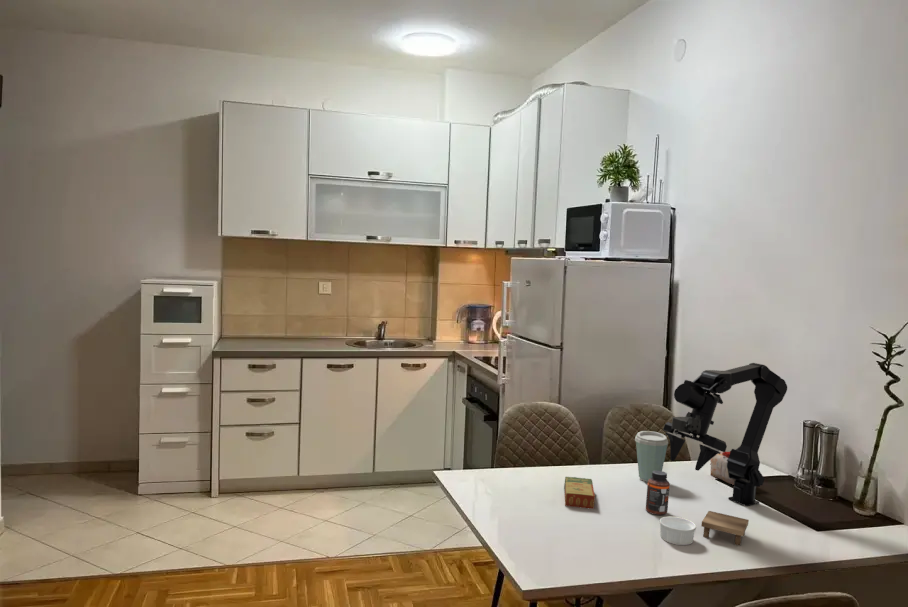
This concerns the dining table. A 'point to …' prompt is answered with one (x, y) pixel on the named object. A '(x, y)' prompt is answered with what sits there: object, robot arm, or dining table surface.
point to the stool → (725, 525)
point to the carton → (579, 492)
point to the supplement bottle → (657, 493)
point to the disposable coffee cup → (650, 453)
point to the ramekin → (677, 530)
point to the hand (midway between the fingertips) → (684, 465)
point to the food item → (721, 467)
